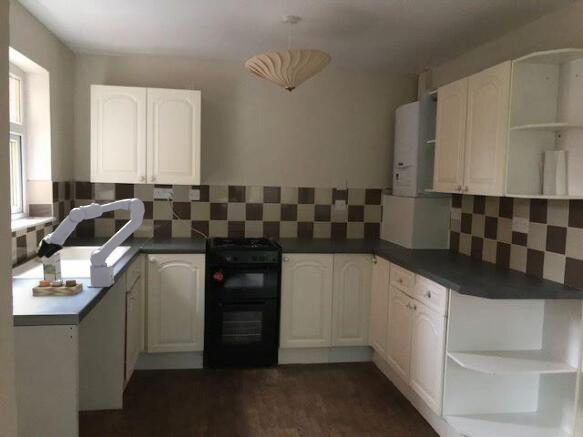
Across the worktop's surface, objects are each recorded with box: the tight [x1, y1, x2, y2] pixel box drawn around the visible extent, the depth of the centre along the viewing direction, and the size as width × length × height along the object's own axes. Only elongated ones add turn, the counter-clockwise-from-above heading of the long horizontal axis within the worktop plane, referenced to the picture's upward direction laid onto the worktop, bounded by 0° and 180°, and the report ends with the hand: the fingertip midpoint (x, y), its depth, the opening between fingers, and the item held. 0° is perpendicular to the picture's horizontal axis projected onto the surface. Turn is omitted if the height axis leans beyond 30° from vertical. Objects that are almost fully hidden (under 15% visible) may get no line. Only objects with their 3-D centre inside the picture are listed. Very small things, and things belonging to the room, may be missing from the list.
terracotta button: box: [38, 279, 50, 287], centre depth 206 cm, size 4×4×2 cm
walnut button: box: [65, 279, 77, 287], centre depth 207 cm, size 4×4×2 cm
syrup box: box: [41, 251, 63, 283], centre depth 221 cm, size 6×6×14 cm
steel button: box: [52, 279, 64, 287], centre depth 207 cm, size 4×4×2 cm
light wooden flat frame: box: [31, 282, 84, 296], centre depth 207 cm, size 17×9×3 cm, turn 92°
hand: (42, 256), depth 210 cm, fingers open, 7 cm apart
